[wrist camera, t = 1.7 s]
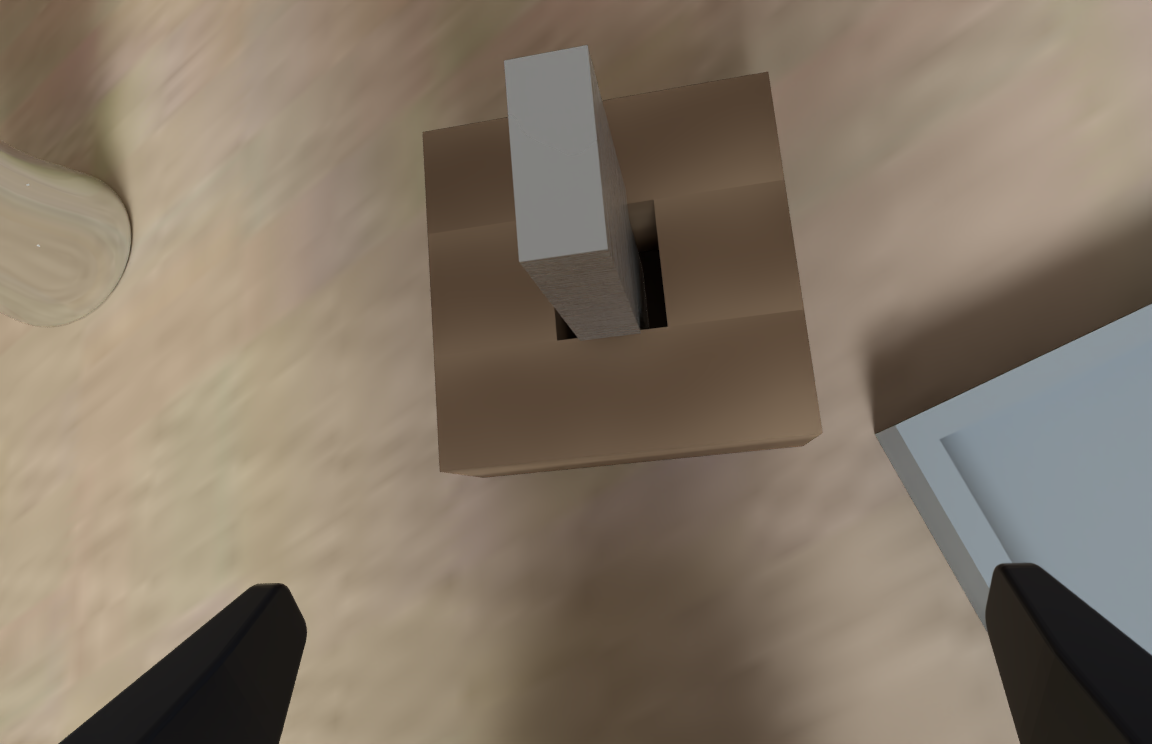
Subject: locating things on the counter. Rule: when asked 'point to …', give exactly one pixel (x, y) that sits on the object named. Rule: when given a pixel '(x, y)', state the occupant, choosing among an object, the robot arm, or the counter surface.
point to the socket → (655, 356)
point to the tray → (1046, 473)
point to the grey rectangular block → (572, 196)
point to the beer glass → (57, 240)
